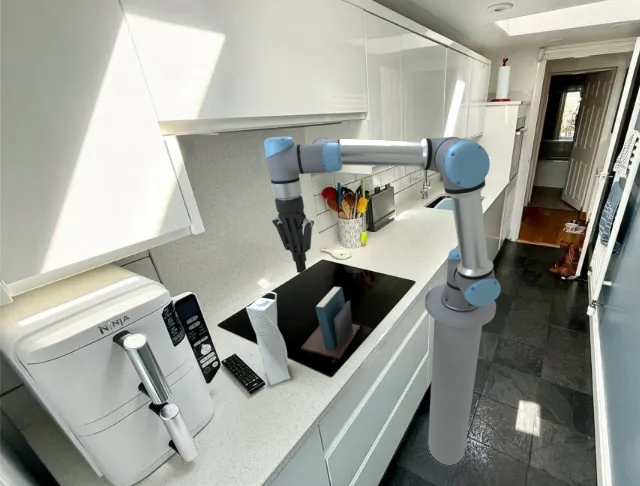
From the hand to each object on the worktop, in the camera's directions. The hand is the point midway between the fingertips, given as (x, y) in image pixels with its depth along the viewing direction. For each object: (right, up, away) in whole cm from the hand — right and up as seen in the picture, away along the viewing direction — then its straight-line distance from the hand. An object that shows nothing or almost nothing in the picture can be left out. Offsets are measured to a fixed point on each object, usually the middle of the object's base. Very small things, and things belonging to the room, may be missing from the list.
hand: (301, 270), depth 96 cm
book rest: (+8, -23, +9) cm, 26 cm away
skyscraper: (-5, -31, -5) cm, 32 cm away
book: (+10, -23, +7) cm, 26 cm away
